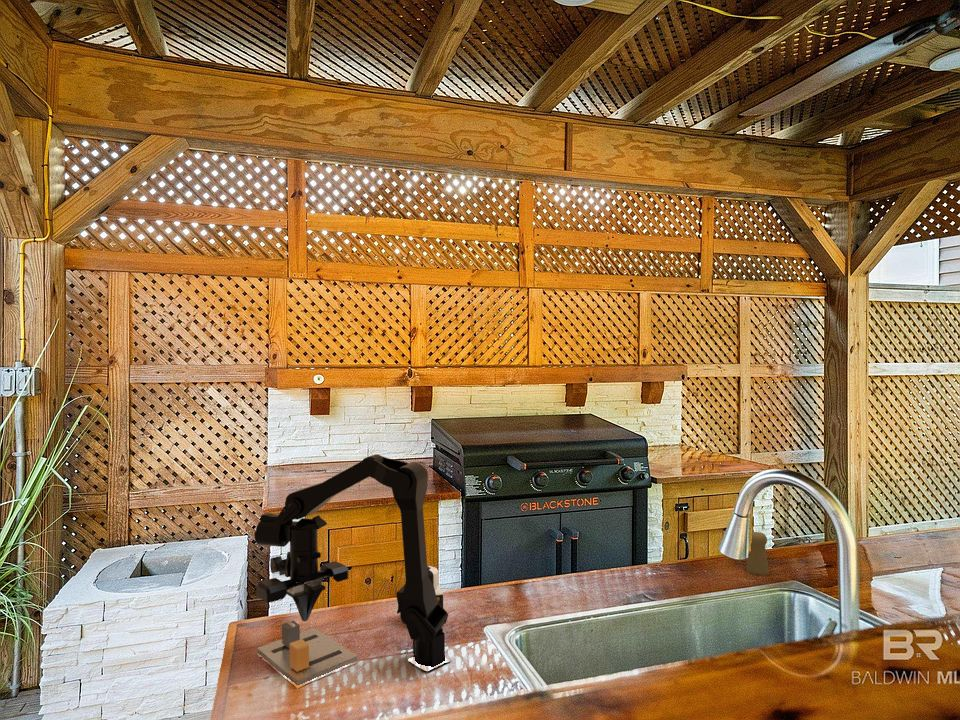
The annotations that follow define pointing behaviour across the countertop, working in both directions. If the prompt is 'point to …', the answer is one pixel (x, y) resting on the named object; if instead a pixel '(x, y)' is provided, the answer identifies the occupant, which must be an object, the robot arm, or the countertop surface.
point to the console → (321, 656)
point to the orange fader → (299, 655)
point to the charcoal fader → (290, 633)
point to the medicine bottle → (435, 583)
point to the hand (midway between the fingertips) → (304, 620)
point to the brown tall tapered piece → (758, 555)
